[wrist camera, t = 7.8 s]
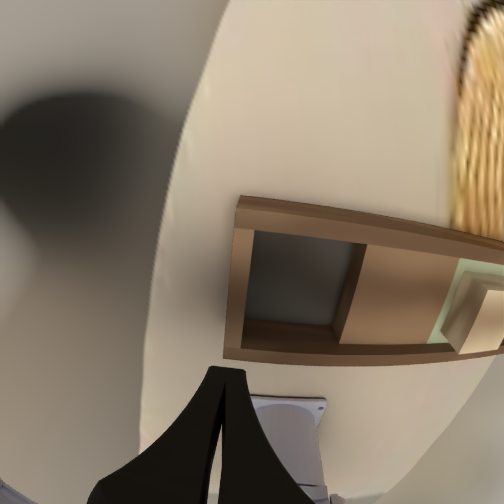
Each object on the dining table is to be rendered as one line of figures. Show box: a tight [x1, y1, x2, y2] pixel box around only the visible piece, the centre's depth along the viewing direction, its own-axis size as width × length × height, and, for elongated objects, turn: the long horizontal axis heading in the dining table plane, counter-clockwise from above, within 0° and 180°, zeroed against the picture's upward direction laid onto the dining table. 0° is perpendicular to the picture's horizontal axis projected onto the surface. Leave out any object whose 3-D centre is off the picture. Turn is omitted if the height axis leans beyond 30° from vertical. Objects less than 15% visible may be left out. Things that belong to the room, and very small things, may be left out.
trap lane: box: [223, 195, 504, 366], centre depth 18 cm, size 9×29×4 cm, turn 84°
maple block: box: [440, 271, 504, 354], centre depth 16 cm, size 5×5×3 cm
